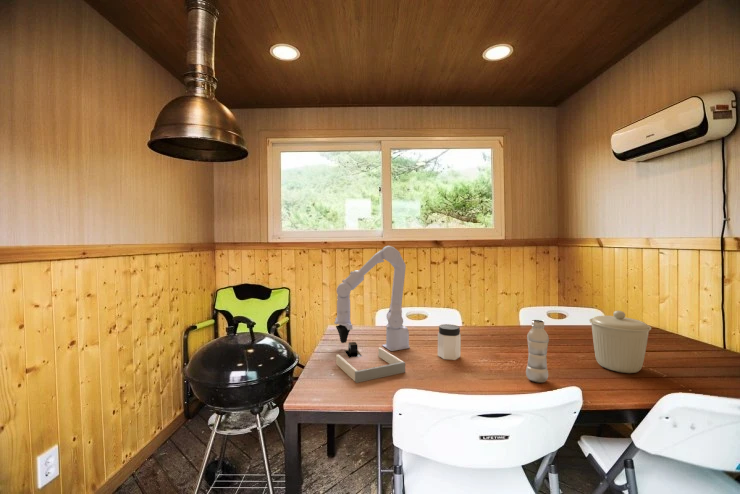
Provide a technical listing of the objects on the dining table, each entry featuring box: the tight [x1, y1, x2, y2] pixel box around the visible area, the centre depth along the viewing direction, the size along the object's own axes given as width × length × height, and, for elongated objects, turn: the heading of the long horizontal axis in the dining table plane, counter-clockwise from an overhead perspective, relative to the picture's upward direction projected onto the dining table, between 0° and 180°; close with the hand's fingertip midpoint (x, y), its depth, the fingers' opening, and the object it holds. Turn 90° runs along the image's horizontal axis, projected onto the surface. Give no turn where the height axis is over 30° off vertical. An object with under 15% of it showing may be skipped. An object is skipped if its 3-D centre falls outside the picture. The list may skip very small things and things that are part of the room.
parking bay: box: [335, 347, 406, 384], centre depth 120 cm, size 19×18×4 cm
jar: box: [437, 323, 462, 361], centre depth 132 cm, size 9×8×12 cm
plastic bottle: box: [525, 319, 550, 383], centre depth 109 cm, size 6×7×20 cm
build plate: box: [344, 341, 363, 358], centre depth 136 cm, size 12×7×5 cm, turn 17°
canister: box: [588, 310, 652, 374], centre depth 121 cm, size 18×18×21 cm
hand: (343, 342), depth 142 cm, fingers closed
